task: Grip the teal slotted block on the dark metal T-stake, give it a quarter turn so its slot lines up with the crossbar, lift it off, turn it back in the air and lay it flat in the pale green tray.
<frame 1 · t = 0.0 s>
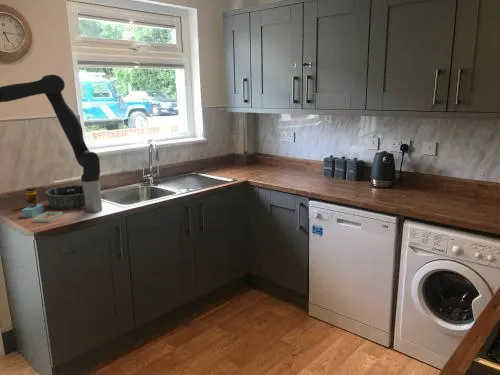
condiment: (33, 208, 239), on the worktop
slotted block: (33, 214, 222), point 1 cm above the worktop, touching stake
tray: (48, 220, 215), on the worktop
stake: (33, 215, 223), on the worktop
bundt pan: (72, 206, 241), on the worktop
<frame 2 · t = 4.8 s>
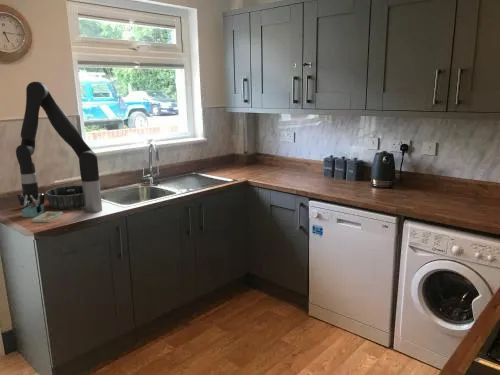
hand: (33, 212, 222), 2 cm above the worktop, tool pointing down, fingers closed on slotted block, 5 cm apart
slotted block: (33, 214, 222), point 1 cm above the worktop, touching gripper, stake
everything else where it was.
when the fingers open (3 cm above the worktop, at t = 12.6 s): slotted block drops 1 cm, resting on tray.
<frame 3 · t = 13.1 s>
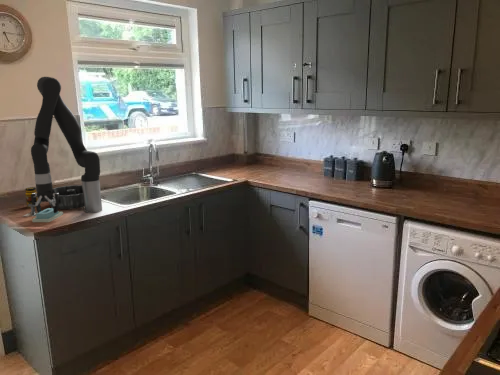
hand: (47, 212, 214), 4 cm above the worktop, tool pointing down, fingers open, 8 cm apart
slotted block: (48, 218, 215), point 1 cm above the worktop, touching tray
everything else where it was.
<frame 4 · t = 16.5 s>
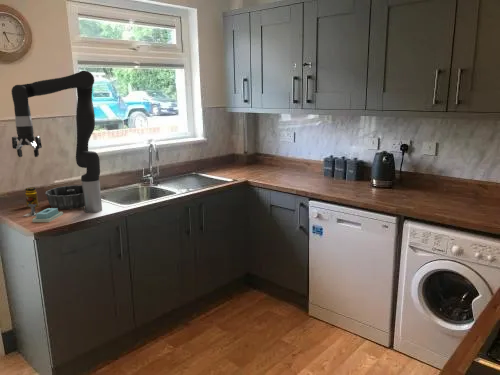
hand: (28, 156, 214), 32 cm above the worktop, tool pointing down, fingers open, 8 cm apart
nothing on the worktop moved.
at the end: slotted block 0.2 cm off-centre on the tray, point 0.8 cm above the tray's base; slotted block tilted 0°; the gripper is holding nothing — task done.
